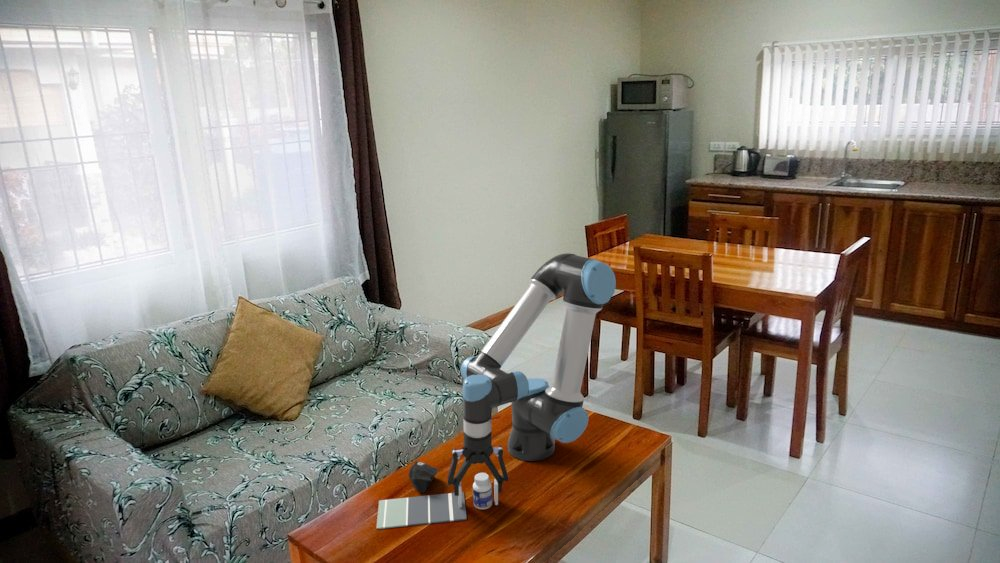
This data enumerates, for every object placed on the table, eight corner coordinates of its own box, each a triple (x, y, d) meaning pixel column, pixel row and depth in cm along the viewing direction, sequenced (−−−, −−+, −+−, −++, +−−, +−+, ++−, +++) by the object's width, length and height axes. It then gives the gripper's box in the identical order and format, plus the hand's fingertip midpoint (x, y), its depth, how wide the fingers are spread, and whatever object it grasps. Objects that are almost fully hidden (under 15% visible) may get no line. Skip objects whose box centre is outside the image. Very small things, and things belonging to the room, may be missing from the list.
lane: (463, 493, 184) (463, 491, 184) (466, 519, 172) (466, 518, 172) (379, 501, 181) (379, 500, 181) (376, 529, 170) (376, 528, 170)
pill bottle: (471, 500, 180) (469, 473, 177) (488, 496, 182) (487, 469, 179) (477, 512, 175) (475, 483, 173) (495, 507, 177) (493, 479, 174)
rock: (398, 488, 187) (396, 471, 185) (413, 471, 195) (412, 455, 193) (428, 496, 183) (427, 479, 181) (443, 479, 191) (442, 462, 189)
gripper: (516, 422, 177) (515, 492, 183) (436, 426, 174) (438, 497, 180) (520, 436, 169) (519, 508, 176) (436, 441, 167) (438, 514, 173)
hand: (478, 503), depth 178 cm, fingers open, 9 cm apart
